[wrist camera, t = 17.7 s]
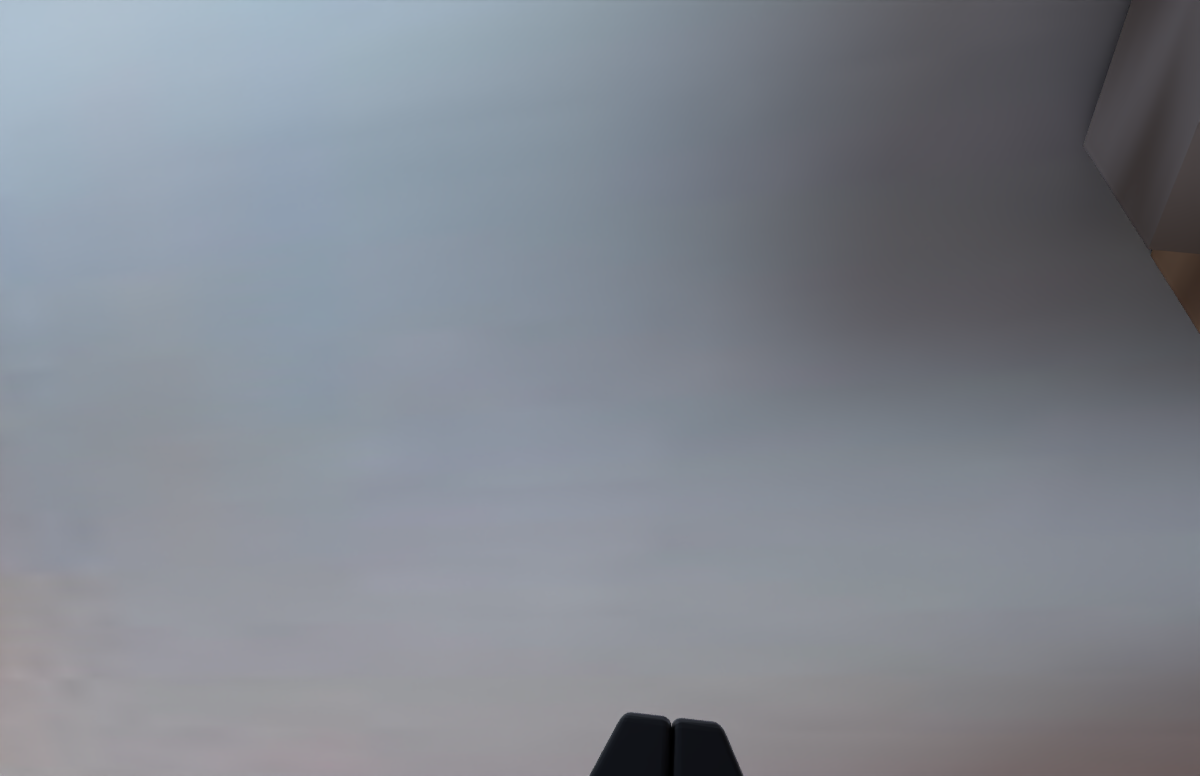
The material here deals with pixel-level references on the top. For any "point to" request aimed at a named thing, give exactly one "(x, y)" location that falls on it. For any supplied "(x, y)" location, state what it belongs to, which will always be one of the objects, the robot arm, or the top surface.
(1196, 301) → the open wooden box
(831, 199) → the top surface
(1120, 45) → the shelf board
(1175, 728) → the top surface
